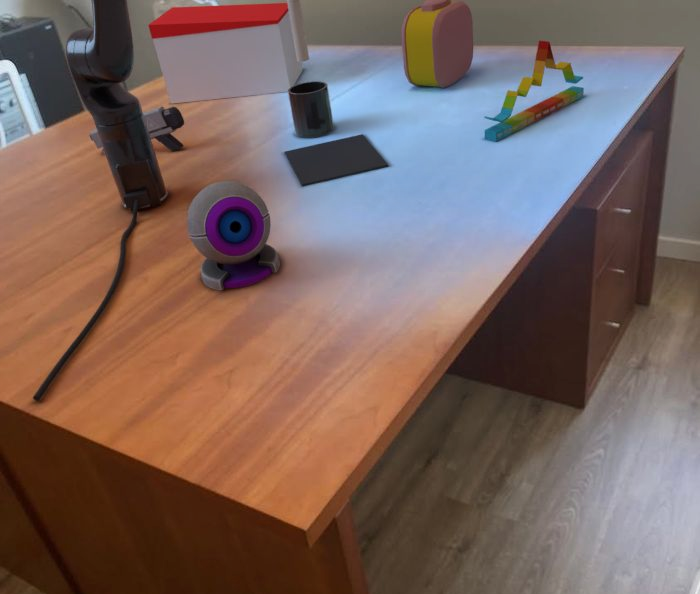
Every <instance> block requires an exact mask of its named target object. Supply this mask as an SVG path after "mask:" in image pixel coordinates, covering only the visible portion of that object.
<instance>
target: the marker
mask: <svg viewBox="0 0 700 594" xmlns="http://www.w3.org/2000/svg"><path fill="white" fill-rule="evenodd" d="M286 3H287V4H288V10H289V16H290V22H291V28H292V34H293V39H294V45H295V51H296V57H297V61H298V62H302V63H303V62H307V61H309V60H310V56H309V48H308V42H307V36H306V31H305V29H306V28H305V24H304V18H303V11H302V5H301V4H302V3H301V0H286Z"/></svg>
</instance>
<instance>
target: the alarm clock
mask: <svg viewBox="0 0 700 594" xmlns="http://www.w3.org/2000/svg"><path fill="white" fill-rule="evenodd" d="M472 15H473V14H472V12H471V8H470V7H469V5H468V4H467V3H466V2H465V1H463V0H457V1H452V0H426V1H424V2H423V3H422V4H420V5H418V6H416V7H414V8H412V9H411V10H410V11H408V12H407V14H406V15H405V17H404V19H403V21H402V25H401V32H400V33H401V39H400V40H401V51H402V62H403V70H404V76H405V78H406V79H407V81H408V83H409V84H411V85H412V86H415V87H417V86H418V87H419V86H424V87H425V86H427V87H440V88H442V89H444V88H448V87H450V86H452V85H453V84H455V83H456V82H458V81H459V80H461V79H462V78H464V77H465V76H466V75H467V73H469V72H470V71H469V70H470V68H471V66H472V63H473V58H474V31H473V30H474V27H473V26H474V25H473V16H472Z"/></svg>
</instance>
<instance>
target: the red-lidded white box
mask: <svg viewBox="0 0 700 594" xmlns="http://www.w3.org/2000/svg"><path fill="white" fill-rule="evenodd" d="M147 26H148V29H149V33H150V36H151V39H152V41H153V45H154V49H155V52H156V55H157V59H158V62H159V67H160V70H161V74H162V77H163V81H164V84H165V88H166V91H167V96H168V99H169V102H170V104H171V105H172V104H181V103H182V104H183V103H193V102H203V101H210V100H211V101H212V100H220V99H221V100H222V99H229V98H240V97H250V96H259V95H260V96H261V95H269V94H278V93H288V89H289V88H291V87H292V86H294V85H296V84H297V81H298V80H299V78H300V76H301V74H302V73H303V71H304V67H303V62H298V61H297V57H296V51H295V45H294V39H293V34H292V28H291V22H290V16H289V10H288V4H287V2H275V3H274V2H273V3H250V4H249V3H248V4H224V5H223V4H222V5H200V6H199V5H197V6H196V5H195V6H173V7H171V8H170V9H168V10H166V12H164V13H162V14H161V15H160V16H158V17H157V18H155V19H154V20H153V21H152V22H150V23H149V24H148V25H147Z"/></svg>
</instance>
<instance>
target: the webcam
mask: <svg viewBox="0 0 700 594" xmlns="http://www.w3.org/2000/svg"><path fill="white" fill-rule="evenodd" d="M187 211H188V212H187V216H186V227H187V234H188V237H189V239H190V241H191V243H192V244H193V246H194V247H195V248H196V250H197V251H198V252H199V253H200V254H201V255H202V256H203V257H205V259H204V260H203V262H202V263H201V265H200V276H201V279H202V282H203V284H204V285H205V286H206V287H208V288H210V289H212V290H217V291H223V290H224V289H236V288H242V287H243V288H244V287H247V286H250V285H253V284H256V283H259V282H260V281H263V280H264V279H266V278H267V277H268V276H270V275H271V273H277V272H278V271H279V269H280V266H281V260H280V257H279V254H278V251H277V250H276V249H275V248H274V247H273V246H271V245H270V244H268V243H267V242H268V240H269V236H270V235H271V234H270V233H271V225H272V224H271V215H270V213H269V209H268V206H267V204H266V203H265V201H264V199H263V198H262V196H261V195H259V193H258V192H257V191H255V189H253V188H251V187H250V186H248V185H246V184H244V183H241V182H237V181H234V180H233V181H231V180H224V181H217V182H214V183H211V184H209V185H208V186H205V187H204V188H202V189H201V190H200V191H199V192H198V193H197V194H196V195H195V196H194V198H193V200H191V202H190V205H189V207H188V210H187Z"/></svg>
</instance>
